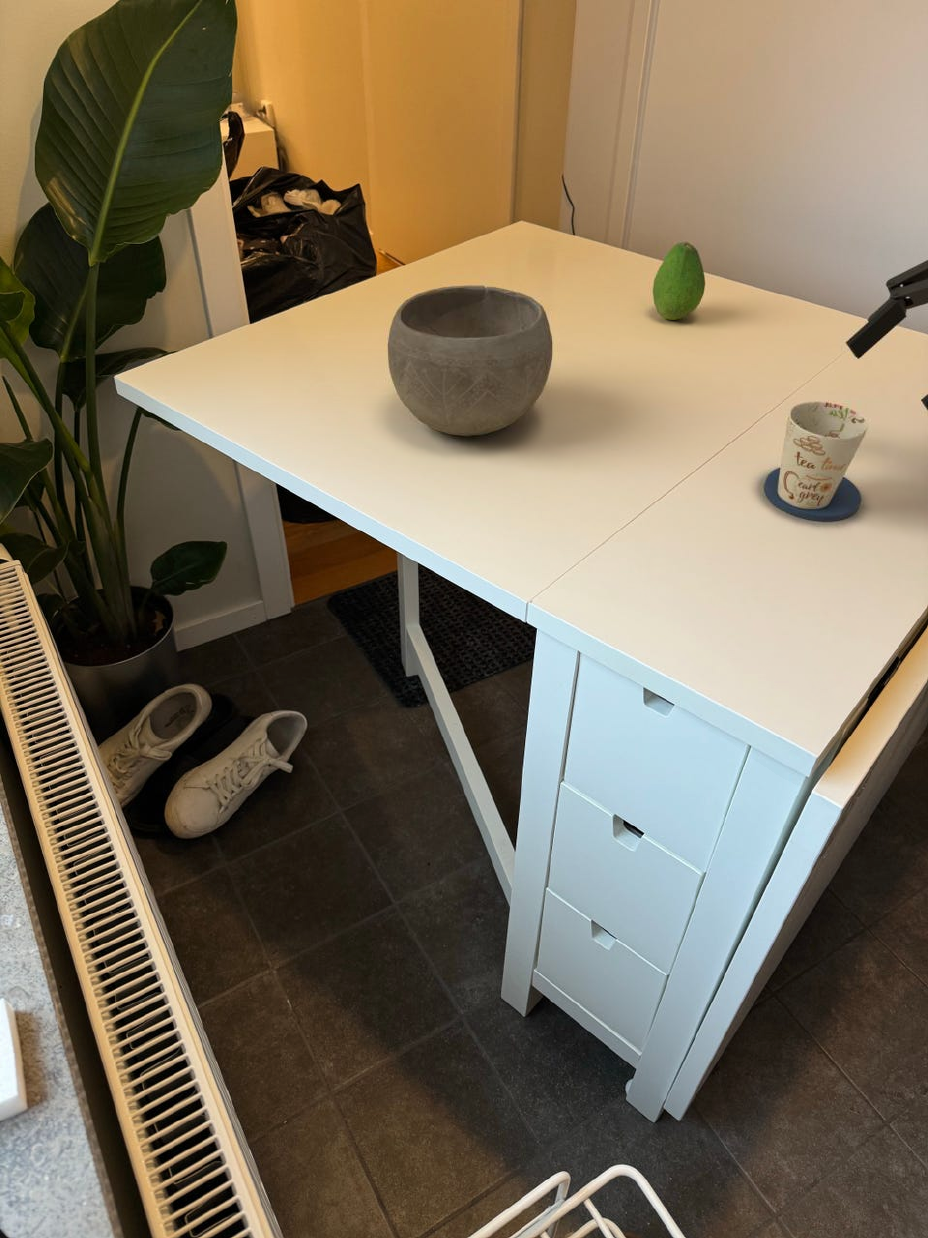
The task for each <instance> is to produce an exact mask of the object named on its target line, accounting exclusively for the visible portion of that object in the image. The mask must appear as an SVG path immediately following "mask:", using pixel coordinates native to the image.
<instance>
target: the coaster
mask: <svg viewBox="0 0 928 1238" xmlns="http://www.w3.org/2000/svg"><path fill="white" fill-rule="evenodd" d="M780 469H781V466H780V467H777V468H776V469H773V470H772V471H771V472H769V473H768V475H767V476H766V478H765V480H764V483H763V491H764V494H765V496H766V498H767V499H768V500H769V501H770V503H772V504H773V505H774V506H775V507H776V508H779V510H781V511H783V512H785V513H787V514H790V515H792V516H794V517H798V518H801V519H805V520H809V521H816V522H837V521H841V520H845V519H847V518H850V517H851V516H853V515H855V513H857V511H858V510H859V508H860V505H861V502H862V495H861V492H860V490H859V489H858V487H857V486H856V484H854V483H853V482H852V481H851V480H849V479H848V478H847V477H845V476H843V478H842V480H841V482H840V484H839V486H838V488H837V490H836V491H835V493H834V495H833V497H832V499H831V501H830V502H829V504H828V505H827V506H825V507H823V508H820V509H802V508H798V507H795V506H792V505H790V504H788V503H786V502H785V501H784V500H782V499H781V497H780V496H779V494H778V483H779V476H780Z"/></svg>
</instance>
